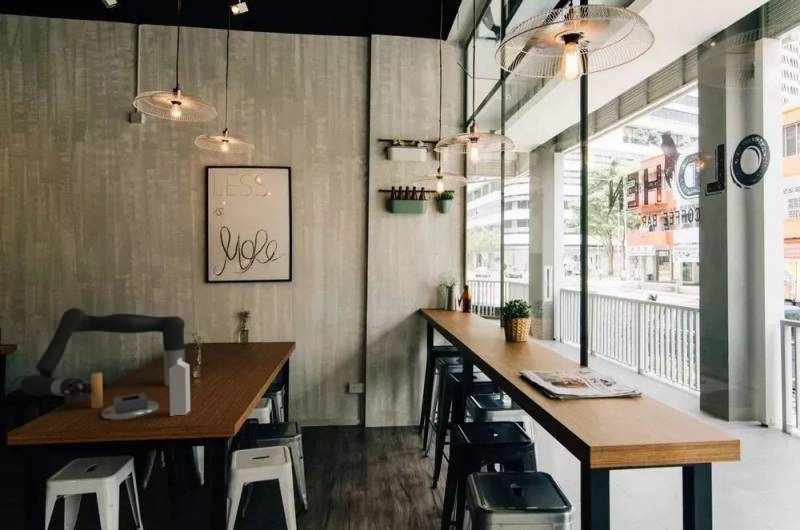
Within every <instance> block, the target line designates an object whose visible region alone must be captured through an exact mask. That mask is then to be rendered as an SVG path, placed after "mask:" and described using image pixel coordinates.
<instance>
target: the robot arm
mask: <svg viewBox="0 0 800 530" xmlns="http://www.w3.org/2000/svg"><path fill="white" fill-rule="evenodd" d="M185 325H186V323H185V321H184V320H183V319H182V317H179V316H178V315H177V316H176V315H174V316H173V315H172V316H153V315H152V316H150V315H144V314H134V313H114V314H109V315H108V314H107V315H103V316H101V315H100V316H99V315H89V314H85V312H84V311H83V310H81V309H80V308H75V307H73V308H69V309H67V310H66V311H64V313H62V316H61V318H60V321H59V323H58V326H57V329H56V330H55V332H54V335H53V337H52V339H51V340H50V342H49V344H48V345H47V348H46V349H45V351H44V352H43V354H42V356H41V357H40V358H39V361H38V362H37V364H36V366H35V370H36V371H37V372H38V373H39V375H36V374H30V375H27V376H25V377H23V378H22V380H20V383H19V387H20V389H21V391H23V392H25V393H28V394H31V395H33V396H35V397H36V396H37V397H40V396H42V395H44V394H45V395H52V396H53V395H54V396H61V397H62V396H63V397H76V396H78V395H84V394H87V395H90V394H91V393H92V388H91V380H90V381H83V380H82V379H81V378H78V377H54V372H55V370H56V369H57V367H58V366H59V364H60V361H61V360H62V358H63V356H64V354H65V351H66V348H67V345H68V342H69V340H70V339H71V337H72V335H73V334H74V333H81V332H83V333H84V332H104V333H105V332H106V333H107V332H108V333H116V334H117V333H120V334H139V333H140V334H141V333H149V332H150V333H152V332H155V333H156V332H157V333H162V344H163V367H164V368H163V370H164V376H163V377H164V381H163V382H164V386H166V387H170V381H169V368H171V367H172V366H174V365H175V364H177V360H178V359H179V358H181V357H182V361H183V362H185V363H186V361H185V360H186V355H185V352H186V351H185V348H186V347H185V346H186V344H185V339H184V337H185V336H184V335H185V334H184V330H185ZM102 386H103V389H108V388H109V386H110V385H109V382H105V381H104V380H103V379H102Z"/></svg>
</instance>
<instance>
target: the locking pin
mask: <svg viewBox="0 0 800 530" xmlns="http://www.w3.org/2000/svg"><path fill="white" fill-rule="evenodd" d="M102 380H103V372H94V373H93V372H92V373H91V374H90V381H91V388H92V393H91V395H90V398H91V401H90V402H91V409H93V408H95V409H100V407H101V408H103V407H104V399H103V397H104V395H103V394H104V392H103V389H104V388H103V386H102Z"/></svg>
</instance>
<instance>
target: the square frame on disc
mask: <svg viewBox="0 0 800 530" xmlns="http://www.w3.org/2000/svg"><path fill="white" fill-rule="evenodd" d="M157 409H158V410H159V403H158V402H157V401H153V400H148V397H147V395H146V394H145V392H141V393H135V394H128V395H127V394H126V395H122V396H114V397H113V405H111V406H109V407H106V408H104V409H103V410H102V411H101V418H102V417H103V418H105V419H104V420H107V419H110V420H109V421H122V420H123V419H126V420H131V419H132V418H133V419H137V418H136V417H138V418H141V417H140V416H142V417H145V416H144V415H146V416H148V415H147V414H149V415H151V414H153V413H152V412H154V411H155V412H157V411H158V410H157ZM156 410H157V411H156ZM155 412H154V413H155ZM150 413H151V414H150ZM103 418H102V419H103ZM123 421H124V420H123Z"/></svg>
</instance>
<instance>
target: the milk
mask: <svg viewBox="0 0 800 530" xmlns="http://www.w3.org/2000/svg"><path fill="white" fill-rule="evenodd" d="M190 371H191V369H190V364H189V363H187V362H186V361H185V362H183V361H182V357H181V358H179V359H178V360H177V364H175V365H174V366H172V367H171V368H169V381H170V386H169V416H173V417H175V416H174V415H186V414H187V413H188V412H189V411H190V412H191V380H190V377H191V376H190V375H191V374H190ZM190 412H189V413H190ZM189 413H188V414H189ZM188 414H187V415H188ZM187 415H186V416H187Z"/></svg>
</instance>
